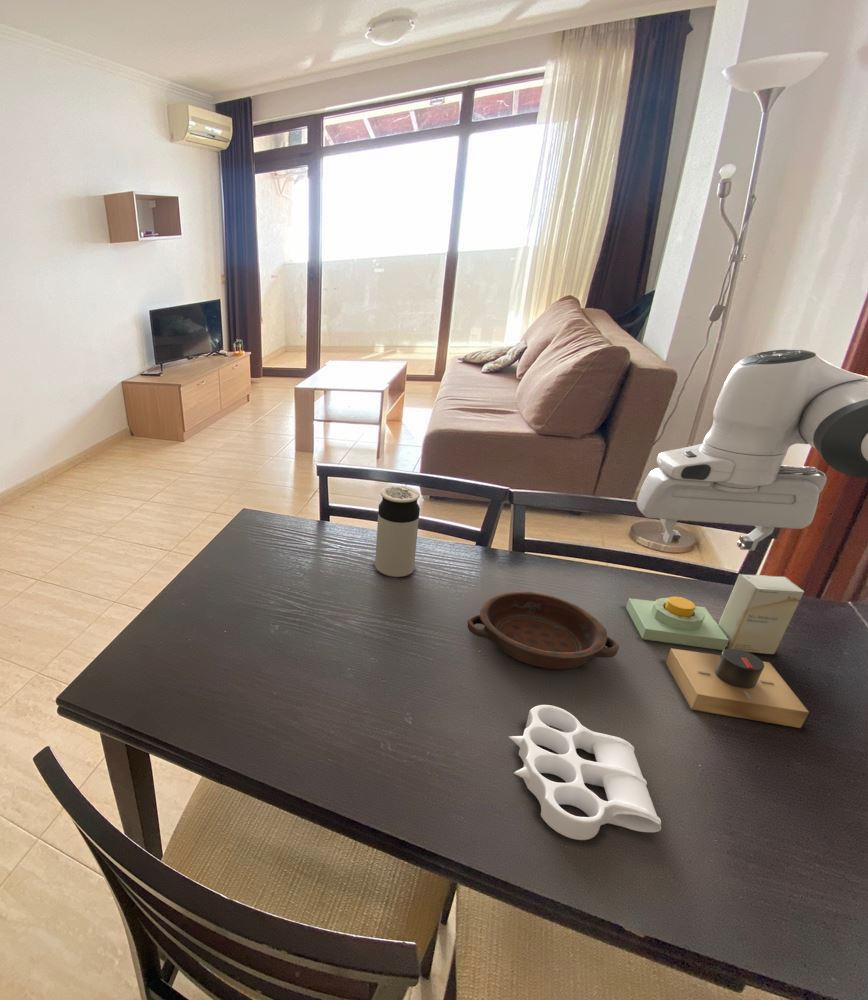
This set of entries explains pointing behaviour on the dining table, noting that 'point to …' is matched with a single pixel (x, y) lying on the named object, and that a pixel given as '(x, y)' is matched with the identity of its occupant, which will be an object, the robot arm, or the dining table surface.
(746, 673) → the dial
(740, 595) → the cosmetic box
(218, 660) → the dining table surface
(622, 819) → the knuckle duster
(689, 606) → the button
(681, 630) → the button housing
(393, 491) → the travel mug
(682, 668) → the dial panel
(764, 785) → the dining table surface
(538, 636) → the dish
